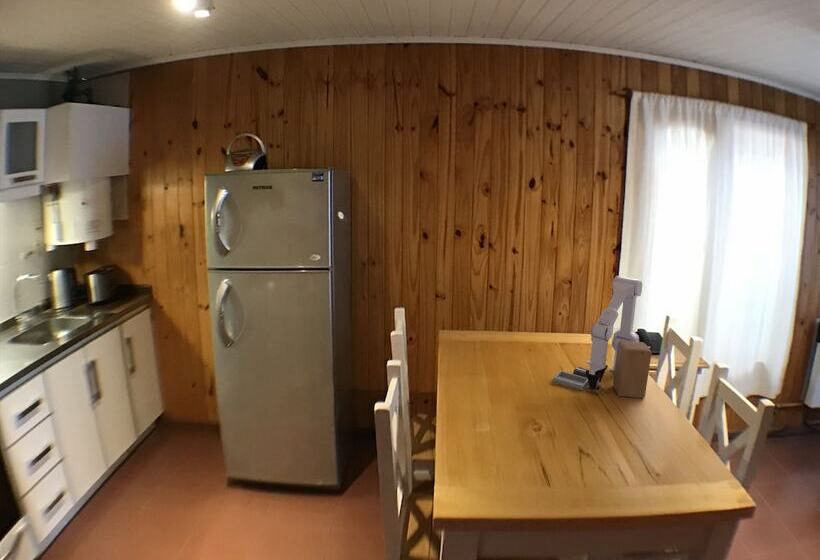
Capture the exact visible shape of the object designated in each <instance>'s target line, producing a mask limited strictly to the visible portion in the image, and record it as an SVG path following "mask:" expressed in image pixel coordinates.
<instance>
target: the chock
mask: <svg viewBox="0 0 820 560" xmlns="http://www.w3.org/2000/svg"><path fill="white" fill-rule="evenodd" d="M586 370H588V369H587V368H583V367H580V366H577V367H576V368H574V369H573V373H572V374H574V375H578V376H582V377H585V378H587V375H586Z"/></svg>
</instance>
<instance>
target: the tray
mask: <svg viewBox="0 0 820 560" xmlns="http://www.w3.org/2000/svg"><path fill="white" fill-rule="evenodd" d="M552 382H553V384H557V385H561V386H563V387H567V388H571V389H573V390H577V391H581V392H583V391H584V390H586V387H587V386H588V385H589V383H588V378H585V377H582V376H578V375H574V374H573V373H570V372H568V371H564V370H559V372H558V373H557V374H556V375H554V377H553V380H552Z"/></svg>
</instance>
